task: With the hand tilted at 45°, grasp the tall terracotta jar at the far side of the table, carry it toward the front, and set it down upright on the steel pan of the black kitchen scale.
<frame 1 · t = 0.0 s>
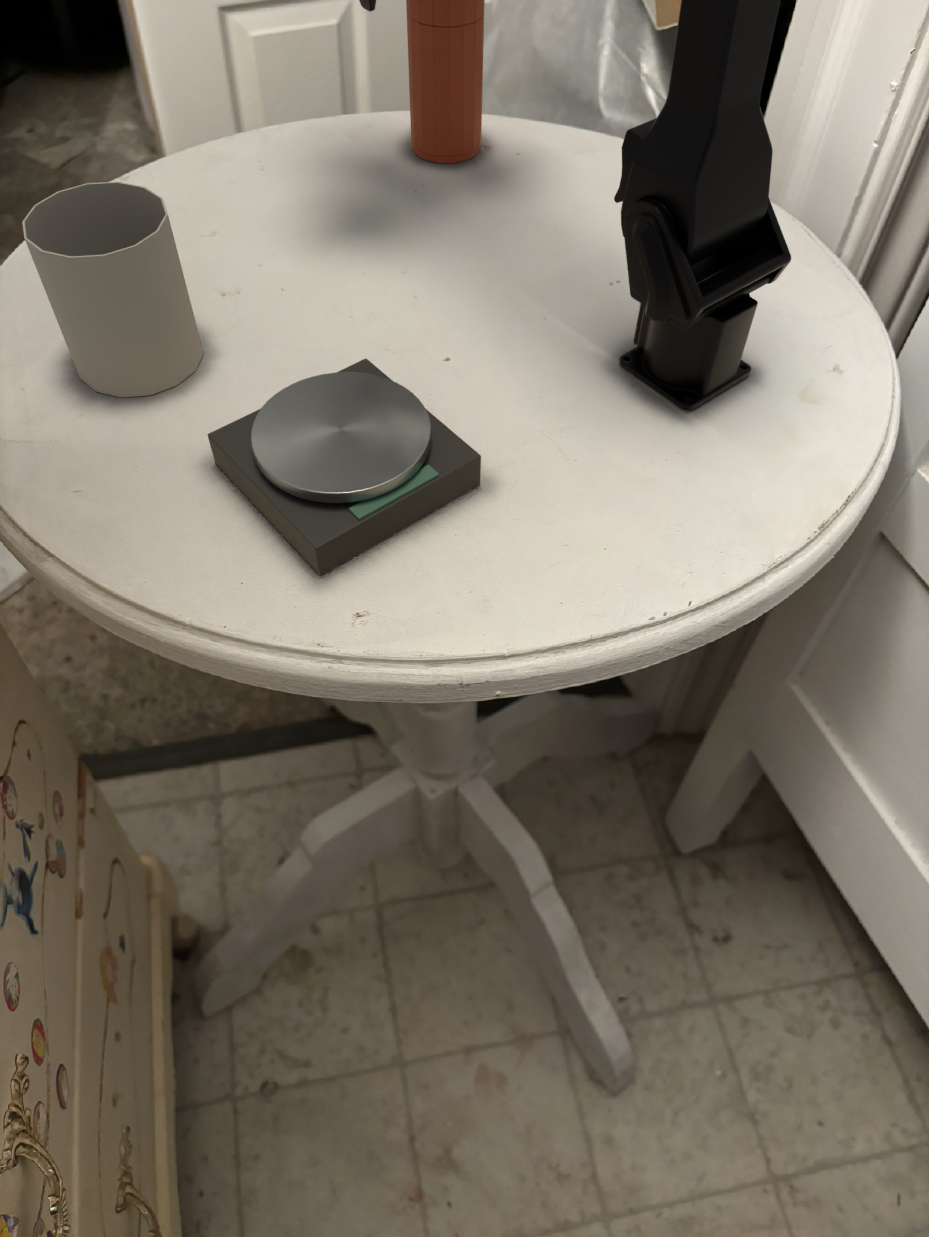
jar: (446, 146, 81), on the table
scale pan: (341, 434, 54), point 3 cm above the table, slide at 0.0 cm
scale: (346, 474, 57), on the table
cup: (141, 359, 63), on the table
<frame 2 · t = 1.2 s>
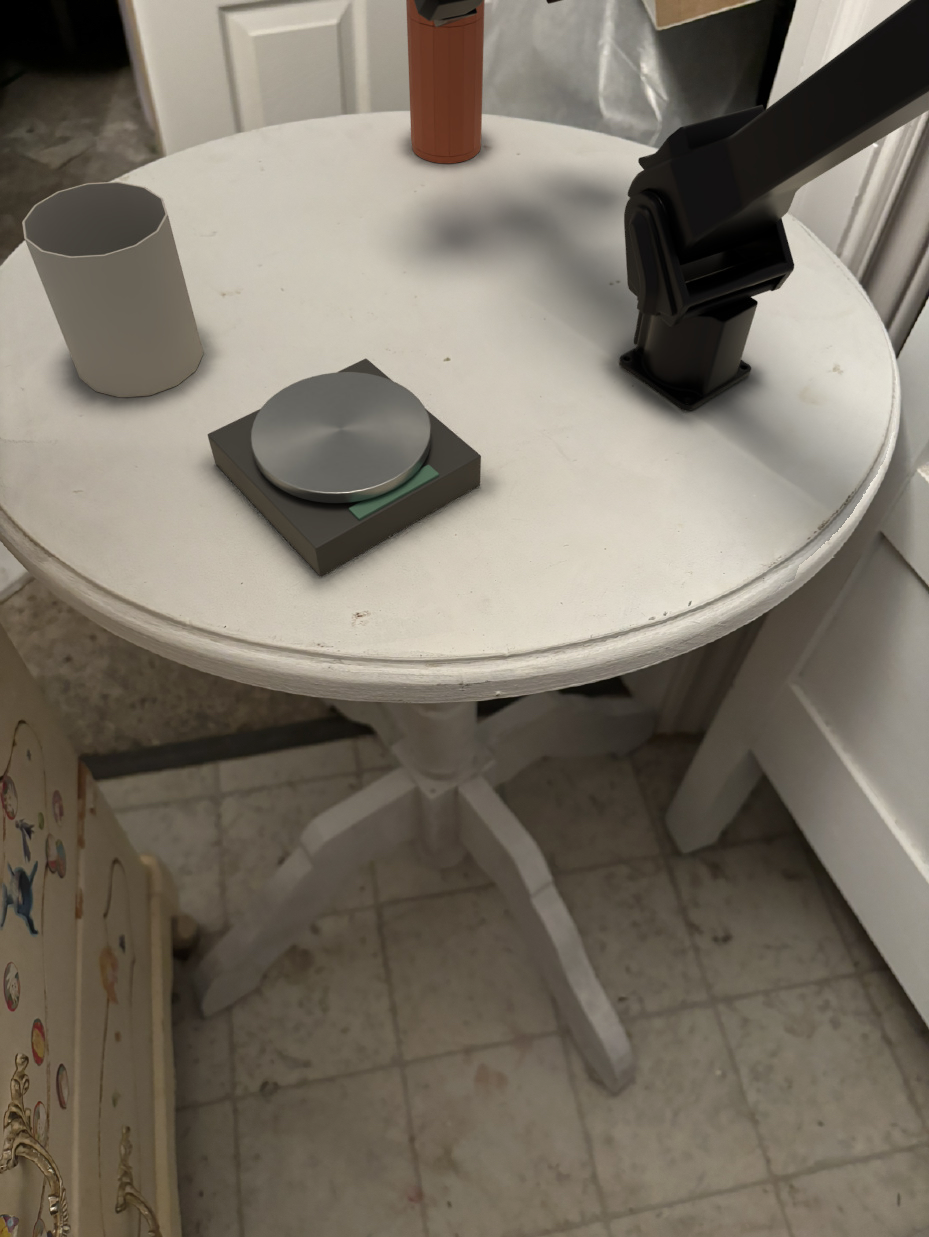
hand: (492, 7, 67), 13 cm above the table, tool tilted 45°, fingers open, 9 cm apart
nothing on the table moved.
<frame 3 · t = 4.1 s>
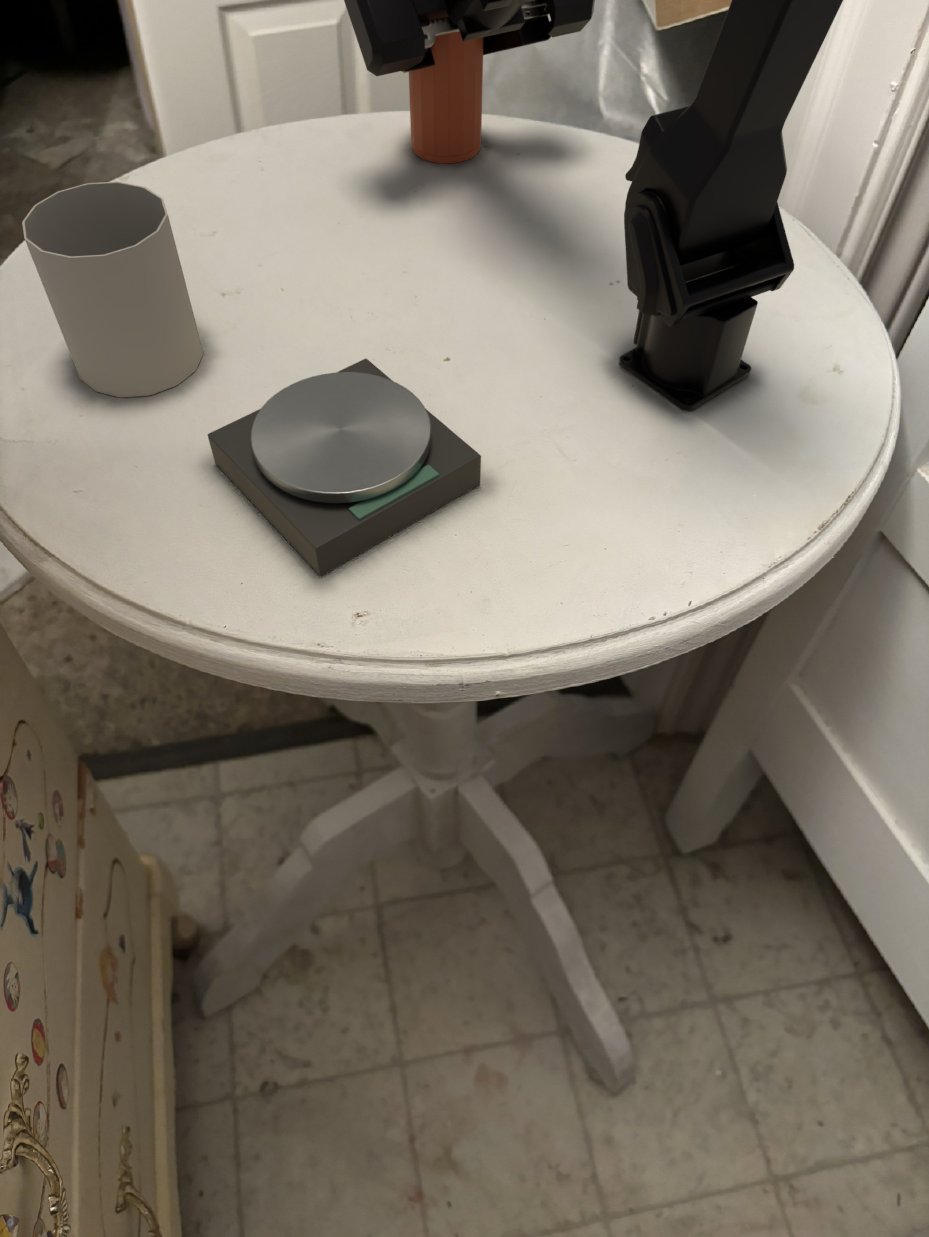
hand: (438, 58, 77), 7 cm above the table, tool tilted 45°, fingers closed on jar, 6 cm apart
jar: (446, 146, 81), on the table, touching gripper
everything else where it was.
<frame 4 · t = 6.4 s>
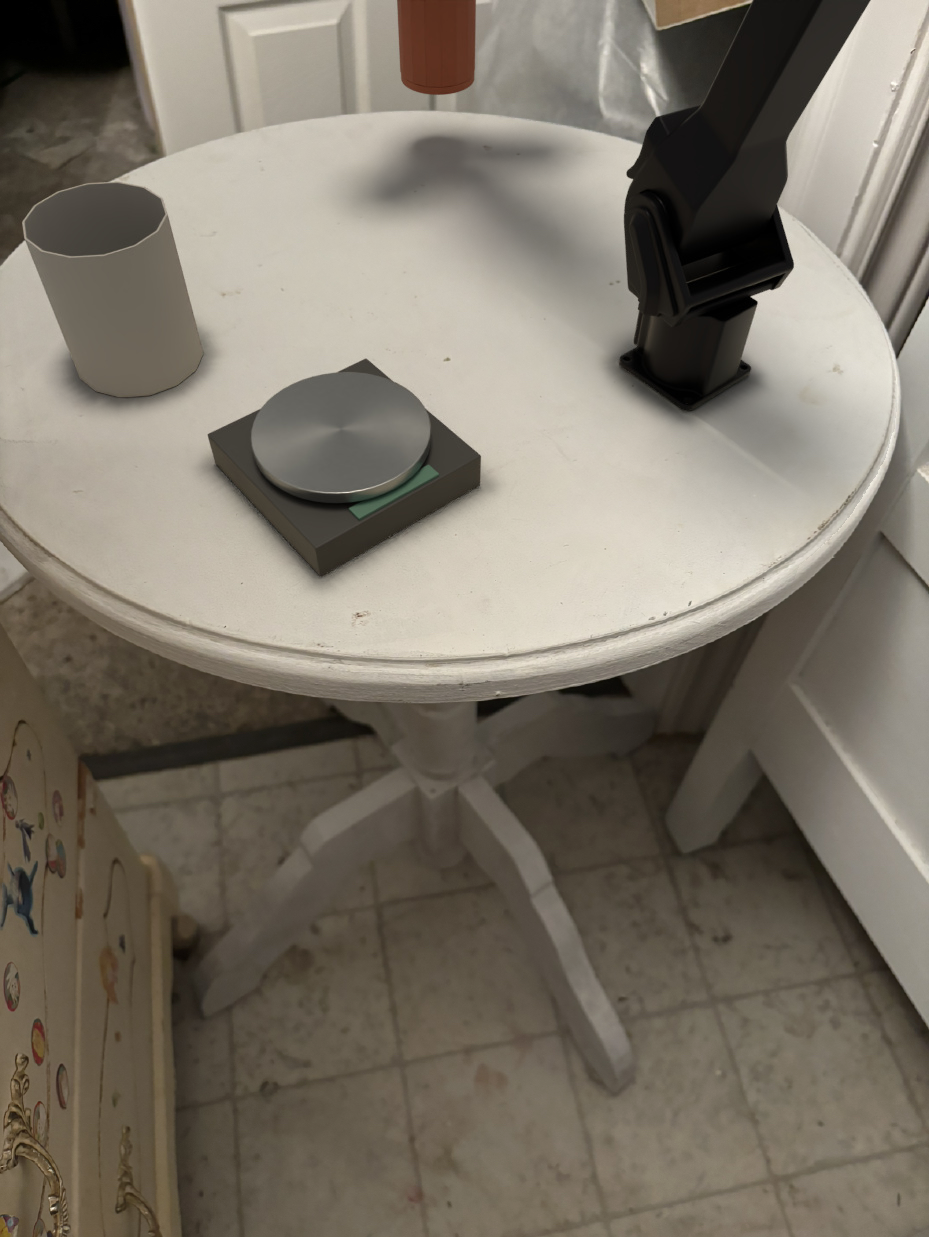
jar: (437, 78, 76), point 6 cm above the table, touching gripper
everything else where it was.
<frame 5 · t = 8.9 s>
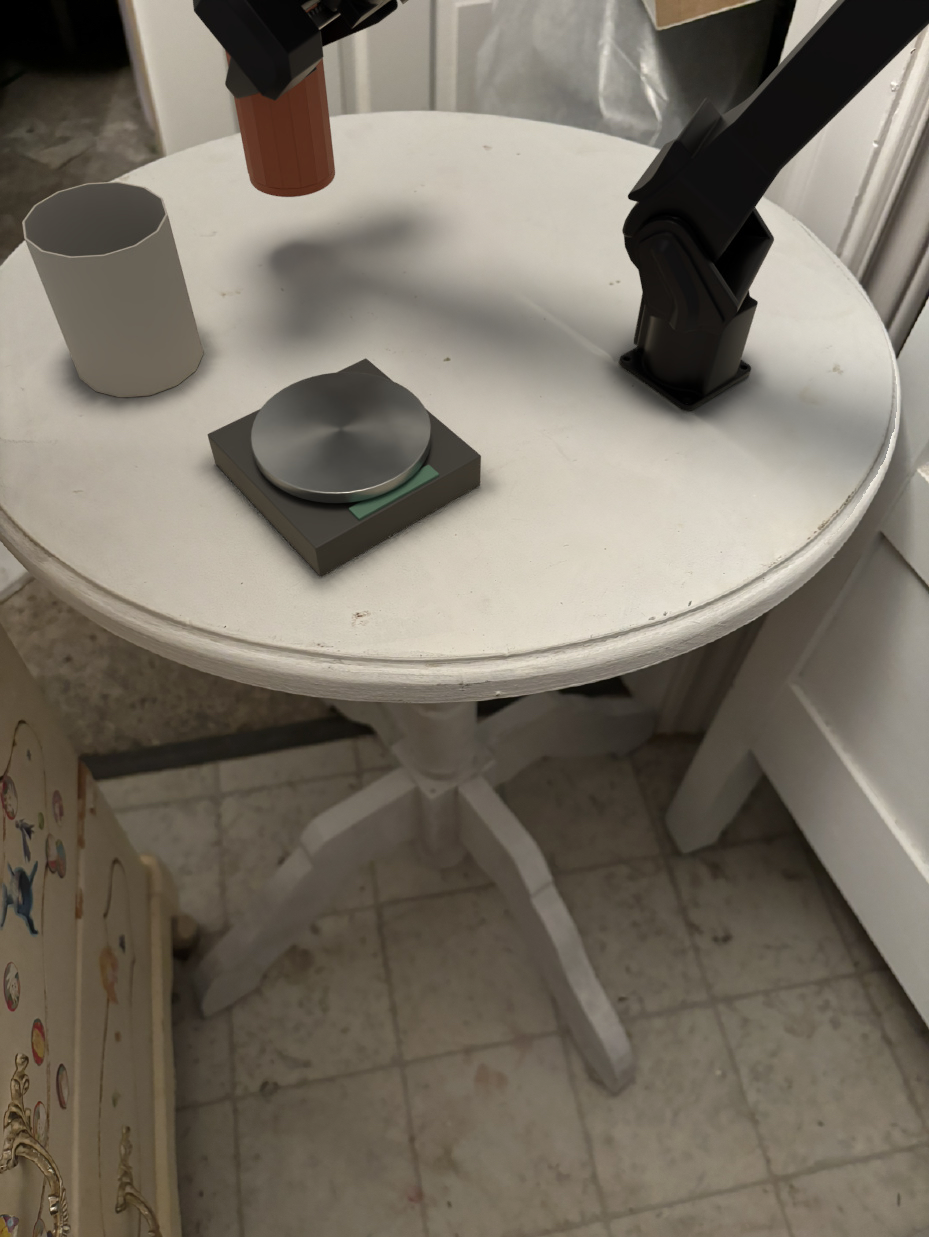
hand: (260, 71, 61), 13 cm above the table, tool tilted 45°, fingers closed on jar, 6 cm apart
jar: (292, 175, 65), point 6 cm above the table, touching gripper
everything else where it was.
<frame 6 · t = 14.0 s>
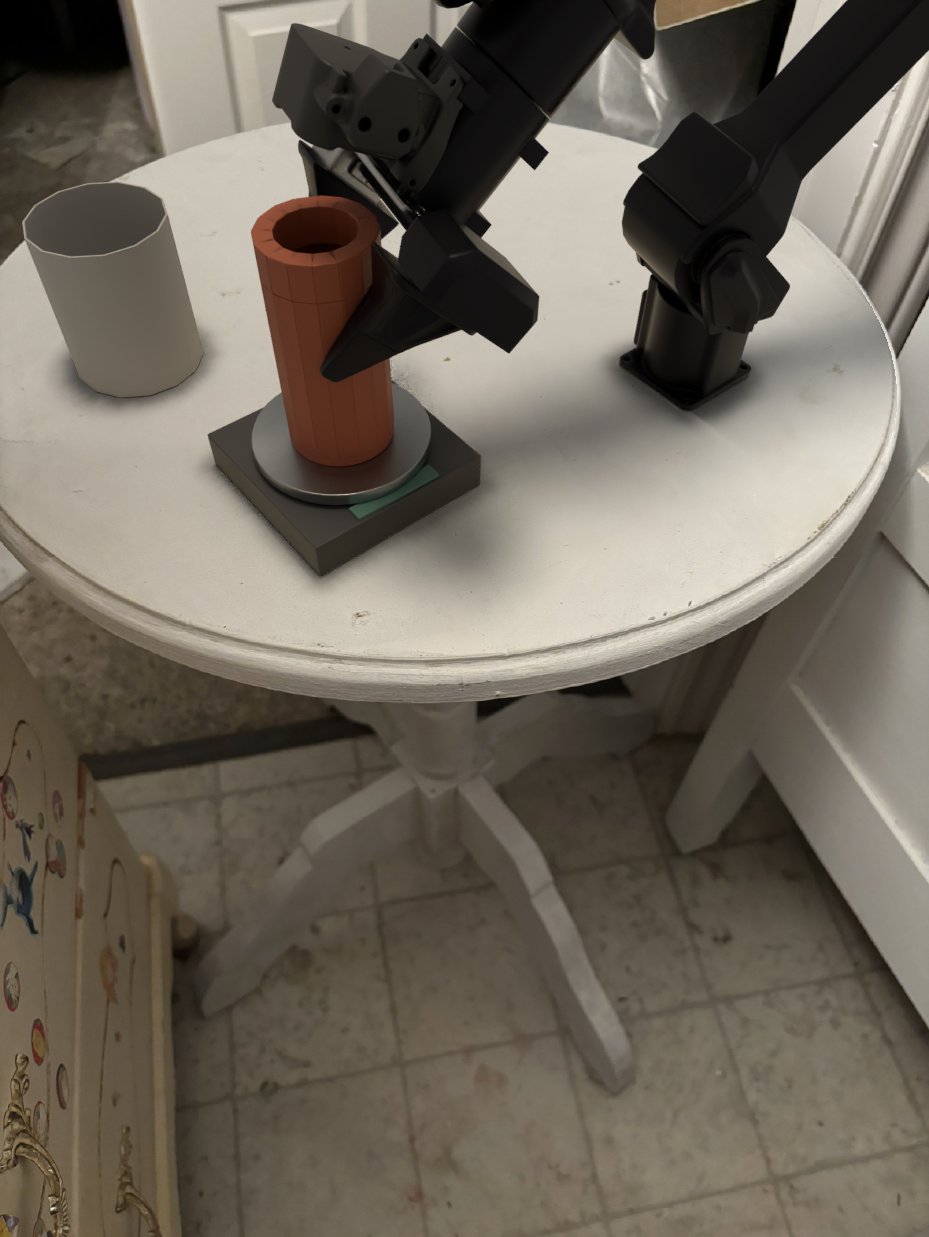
hand: (305, 341, 48), 10 cm above the table, tool tilted 45°, fingers closed on jar, 6 cm apart
jar: (342, 430, 54), point 3 cm above the table, touching gripper, scale pan
scale pan: (342, 436, 54), point 3 cm above the table, slide at -0.2 cm, touching jar
everything else where it was.
when the fingers open (10 cm above the table, at t = 14.1 s): jar stays where it is, resting on scale pan.
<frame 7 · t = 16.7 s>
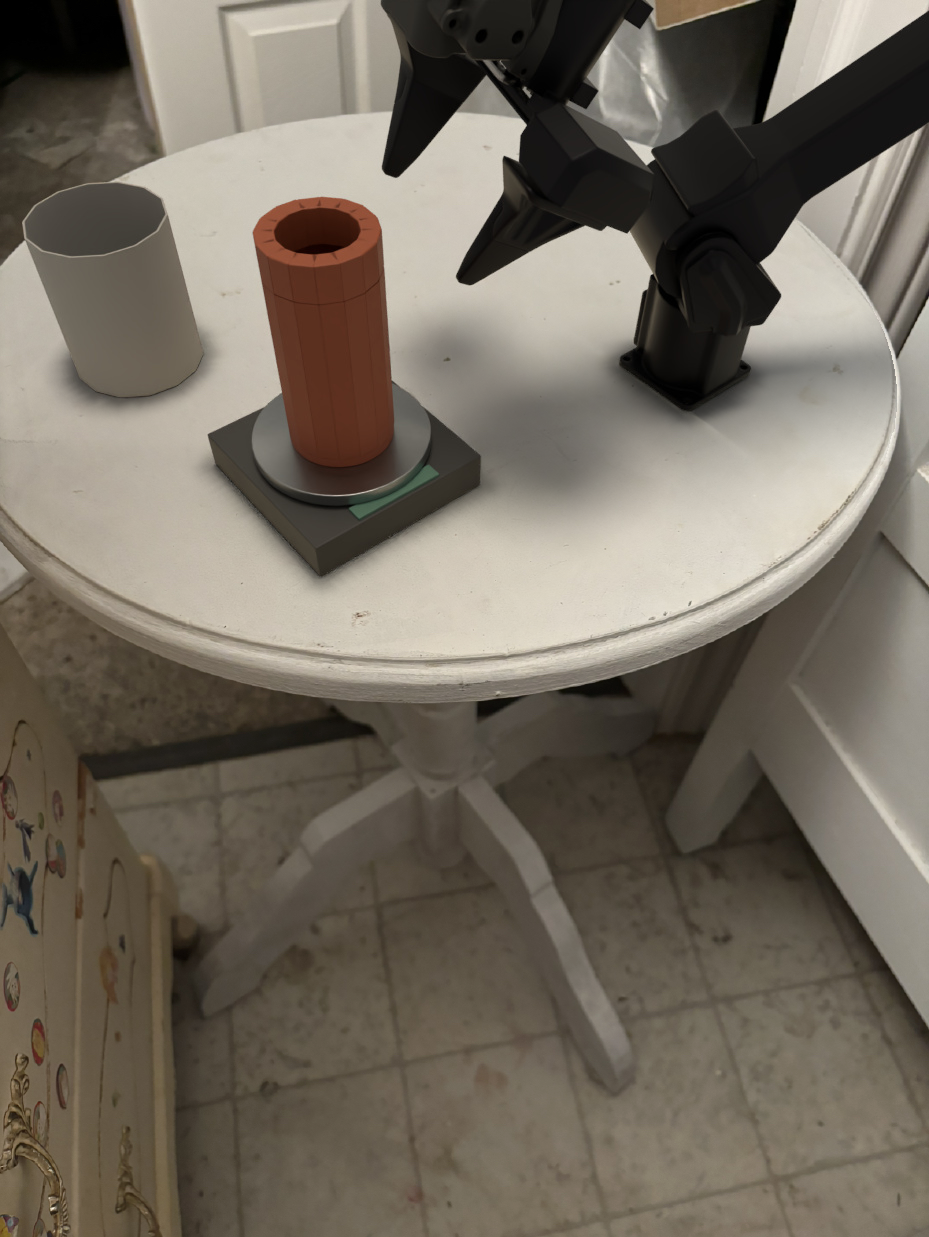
hand: (424, 226, 51), 12 cm above the table, tool tilted 35°, fingers open, 9 cm apart
jar: (342, 431, 54), point 3 cm above the table, touching scale pan
scale pan: (342, 436, 54), point 3 cm above the table, slide at -0.2 cm, touching jar, scale
everything else where it was.
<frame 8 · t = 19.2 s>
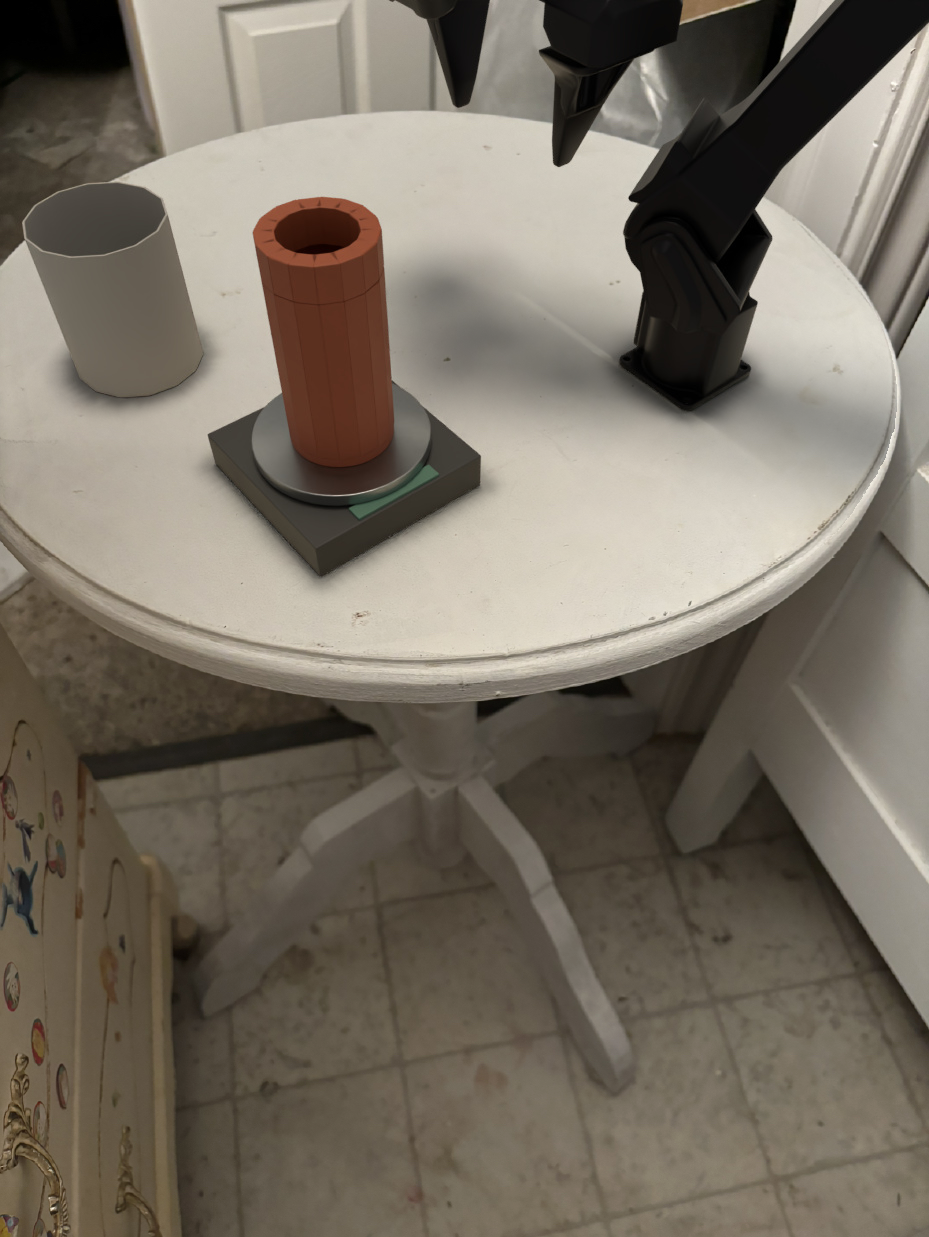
hand: (509, 134, 56), 13 cm above the table, tool pointing down, fingers open, 9 cm apart
nothing on the table moved.
at the end: jar inside the target area on the scale (0.1 cm from its centre), point 3.4 cm above the scale's base; jar tilted 0°; the gripper is holding nothing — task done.
